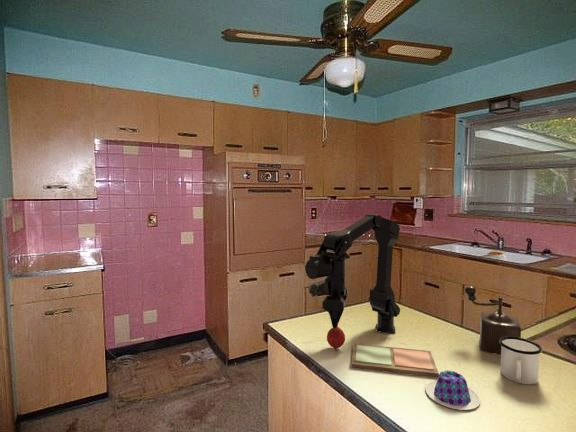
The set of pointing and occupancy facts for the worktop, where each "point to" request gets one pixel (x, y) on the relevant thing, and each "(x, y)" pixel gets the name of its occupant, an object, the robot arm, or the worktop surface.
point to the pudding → (452, 391)
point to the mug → (520, 359)
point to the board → (394, 360)
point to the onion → (335, 337)
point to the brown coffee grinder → (494, 324)
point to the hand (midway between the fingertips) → (336, 322)
